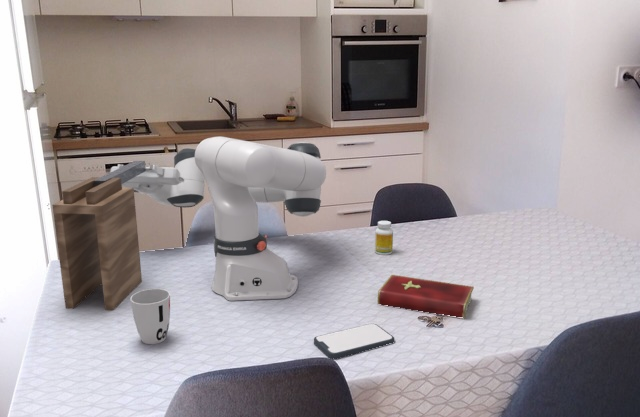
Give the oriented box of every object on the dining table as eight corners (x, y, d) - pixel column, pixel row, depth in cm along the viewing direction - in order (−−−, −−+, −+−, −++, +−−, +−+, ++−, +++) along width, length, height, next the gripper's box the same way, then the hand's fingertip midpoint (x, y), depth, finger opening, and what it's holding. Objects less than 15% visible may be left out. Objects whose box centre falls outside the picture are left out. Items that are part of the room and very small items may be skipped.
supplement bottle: (372, 250, 184) (373, 220, 181) (389, 248, 185) (389, 219, 182) (377, 256, 179) (378, 225, 176) (394, 254, 180) (395, 224, 177)
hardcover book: (464, 321, 138) (465, 304, 136) (377, 306, 146) (377, 290, 144) (472, 301, 148) (473, 285, 147) (391, 288, 156) (391, 273, 155)
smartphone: (374, 328, 135) (311, 343, 127) (374, 321, 134) (311, 336, 127) (396, 345, 127) (331, 362, 120) (397, 338, 127) (331, 355, 119)
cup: (162, 349, 124) (159, 305, 122) (127, 345, 126) (123, 302, 123) (179, 331, 132) (176, 290, 129) (145, 328, 134) (141, 287, 131)
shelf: (141, 281, 160) (132, 176, 152) (113, 310, 143) (100, 193, 135) (99, 279, 161) (87, 175, 154) (65, 308, 144) (50, 192, 136)
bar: (145, 171, 173) (144, 160, 172) (106, 192, 148) (105, 180, 147) (135, 170, 173) (134, 160, 172) (94, 192, 148) (93, 180, 147)
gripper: (185, 191, 181) (170, 178, 168) (120, 190, 183) (100, 177, 169) (187, 172, 182) (172, 157, 169) (123, 171, 184) (103, 156, 171)
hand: (135, 167), depth 169 cm, fingers open, 8 cm apart
